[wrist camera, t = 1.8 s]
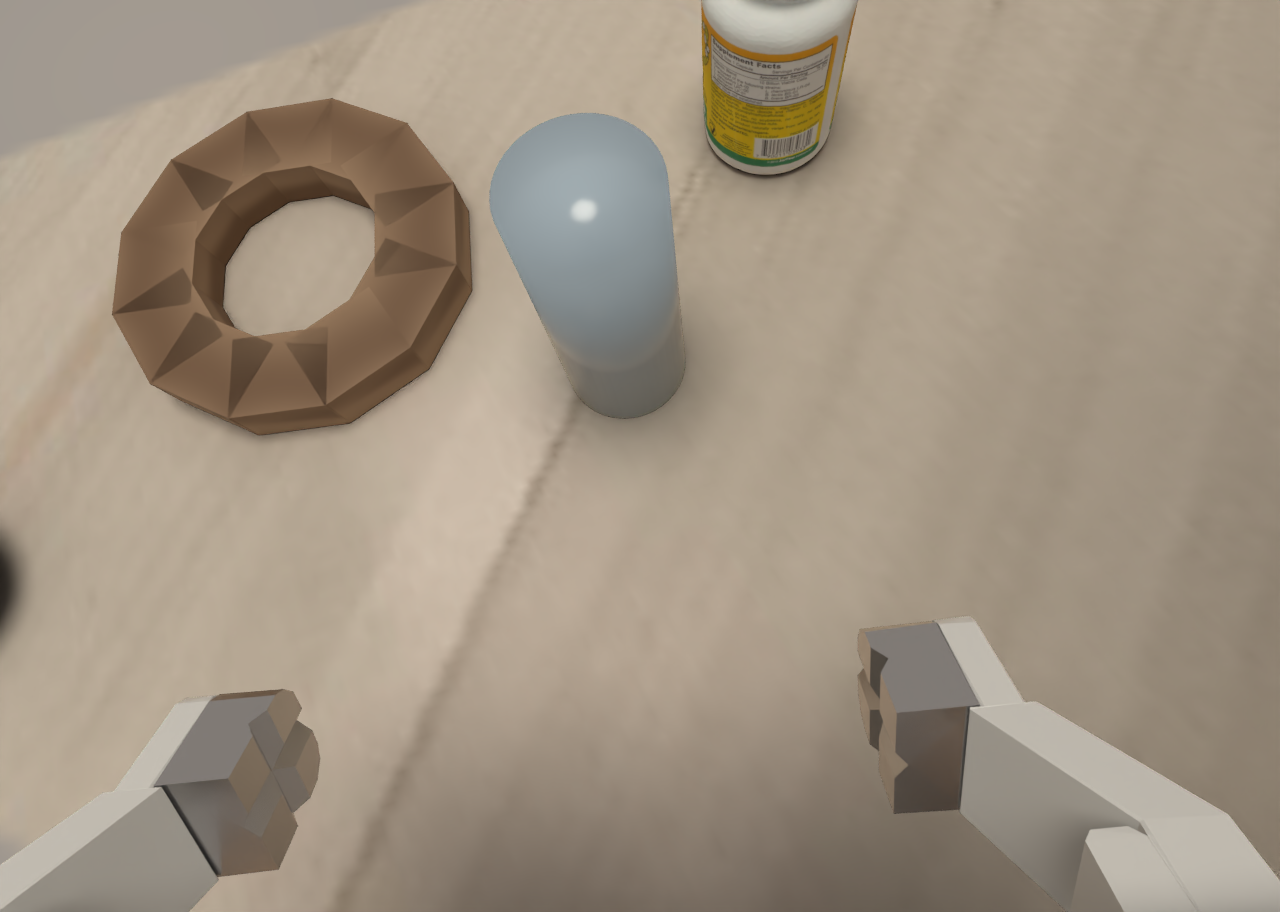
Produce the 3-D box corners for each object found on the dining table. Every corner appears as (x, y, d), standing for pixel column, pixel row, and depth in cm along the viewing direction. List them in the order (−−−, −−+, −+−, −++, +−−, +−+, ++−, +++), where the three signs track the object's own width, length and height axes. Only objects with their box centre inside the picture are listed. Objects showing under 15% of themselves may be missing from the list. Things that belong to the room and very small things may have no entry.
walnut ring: (464, 113, 34) (450, 79, 32) (477, 406, 30) (461, 387, 28) (164, 160, 35) (132, 129, 33) (136, 451, 31) (98, 436, 29)
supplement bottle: (784, 200, 32) (812, 0, 22) (678, 141, 33) (663, -70, 24) (856, 108, 32) (911, -120, 23) (750, 54, 34) (763, -182, 25)
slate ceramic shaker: (678, 301, 31) (657, 100, 20) (692, 410, 29) (678, 254, 19) (564, 318, 31) (485, 127, 20) (572, 425, 30) (493, 280, 19)
